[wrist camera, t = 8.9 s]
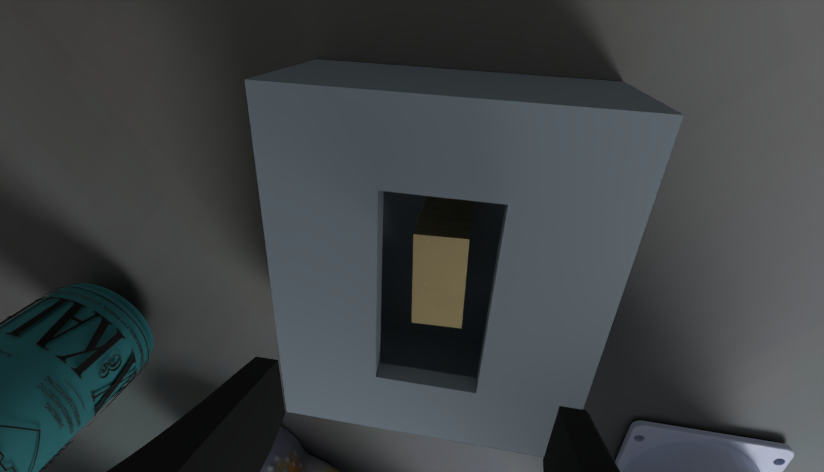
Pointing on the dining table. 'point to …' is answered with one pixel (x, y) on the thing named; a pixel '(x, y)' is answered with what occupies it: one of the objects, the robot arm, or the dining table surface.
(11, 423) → the beverage bottle
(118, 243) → the dining table surface
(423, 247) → the brass block
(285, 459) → the mug
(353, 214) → the grey block with hole
